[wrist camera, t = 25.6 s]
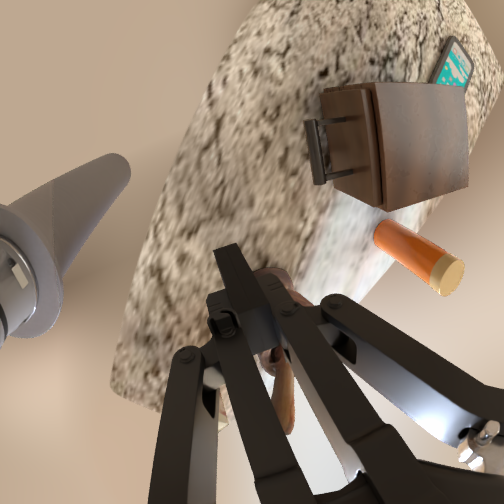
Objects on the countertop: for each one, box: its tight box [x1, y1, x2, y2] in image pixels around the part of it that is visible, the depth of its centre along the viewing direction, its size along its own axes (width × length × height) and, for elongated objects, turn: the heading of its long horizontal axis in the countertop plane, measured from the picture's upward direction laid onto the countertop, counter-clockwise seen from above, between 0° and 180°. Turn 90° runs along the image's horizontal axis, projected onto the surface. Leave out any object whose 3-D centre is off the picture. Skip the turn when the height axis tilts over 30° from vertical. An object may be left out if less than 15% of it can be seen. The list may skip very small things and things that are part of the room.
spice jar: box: [374, 219, 465, 296], centre depth 36 cm, size 5×5×15 cm
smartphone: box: [429, 36, 474, 95], centre depth 33 cm, size 9×1×15 cm
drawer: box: [303, 88, 383, 207], centre depth 30 cm, size 19×12×9 cm, turn 102°
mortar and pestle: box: [253, 268, 314, 435], centre depth 33 cm, size 12×9×20 cm
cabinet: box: [324, 82, 469, 212], centre depth 31 cm, size 16×14×11 cm
